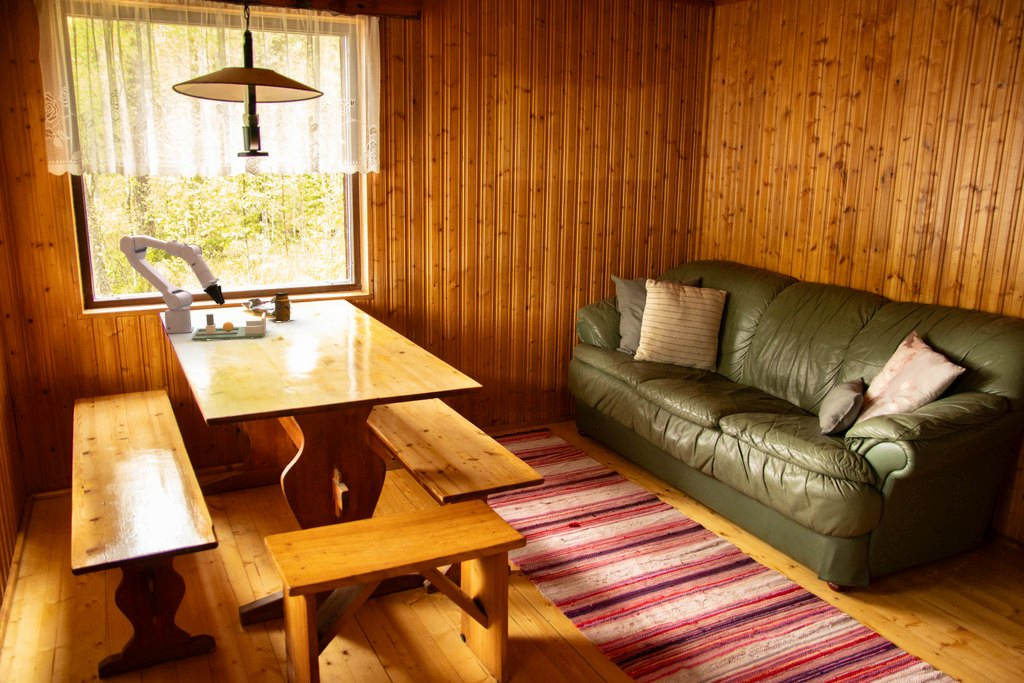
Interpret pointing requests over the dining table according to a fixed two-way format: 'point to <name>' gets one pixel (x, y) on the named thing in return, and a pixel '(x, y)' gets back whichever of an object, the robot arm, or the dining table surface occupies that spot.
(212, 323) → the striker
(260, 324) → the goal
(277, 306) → the condiment
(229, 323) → the ball
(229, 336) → the pitch
